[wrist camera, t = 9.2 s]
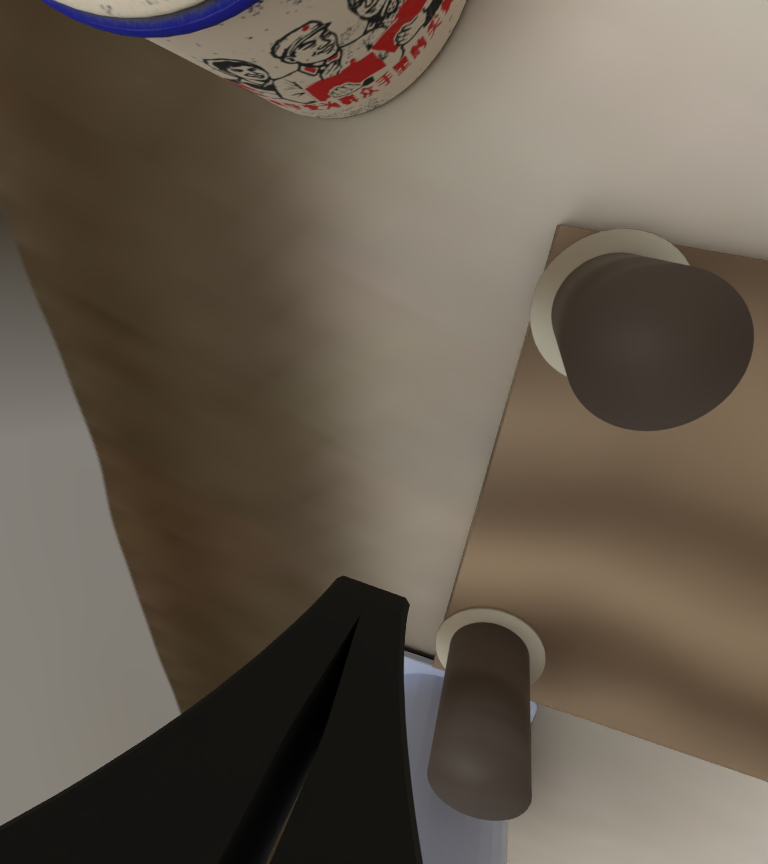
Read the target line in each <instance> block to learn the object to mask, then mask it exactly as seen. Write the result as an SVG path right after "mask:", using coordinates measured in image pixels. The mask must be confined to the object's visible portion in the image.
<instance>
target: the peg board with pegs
mask: <svg viewBox="0 0 768 864" xmlns="http://www.w3.org/2000/svg"><path fill="white" fill-rule="evenodd" d="M432 667H434V668H437V669H440V670H443V671H445V674H444V680H443V686H442V691H441V697H440V702H439V708H438V714H437V719H436V725H435V730H434V736H433V742H432V747H431V753H430V759H429V764H428V770H427V777H428V781H429V784H430V786H431V788H432V790H433V791H434V792H435V794H436V795H437V796H438V797H439V798H440V799H441V800H442V801H443V802H444V803H446V804H447V805H448V806H450V807H451V808H453V809H455V810H457V811H458V812H460V813H463V814H465V815H468V816H470V817H474V818H477V819H482V820H489V821H503V820H509V819H513V818H516V817H518V816H520V815H521V814H523V813H524V812H525V811H526V810H527V809H528V807H529V806H530V803H531V798H532V789H531V719H530V700H531V701H533V702H536V703H539V704H542V705H545V706H548V707H551V708H554V709H557V710H560V711H563V712H566V713H568V714H571V715H574V716H577V717H580V718H583V719H586V720H589V721H592V722H595V723H598V724H601V725H603V726H606V727H609V728H612V729H615V730H618V731H621V732H624V733H627V734H630V735H633V736H636V737H638V738H641V739H644V740H647V741H650V742H653V743H656V744H659V745H662V746H665V747H668V748H671V749H673V750H676V751H679V752H682V753H685V754H688V755H691V756H694V757H697V758H700V759H703V760H706V761H708V762H711V763H714V764H717V765H720V766H723V767H726V768H729V769H732V770H735V771H738V772H741V773H743V774H746V775H749V776H752V777H755V778H758V779H761V780H764V781H767V782H768V261H766V260H760V259H754V258H749V257H743V256H737V255H731V254H726V253H720V252H714V251H708V250H702V249H697V248H691V247H685V246H679V245H673V244H671V243H670V242H668V241H666V240H665V239H663V238H661V237H659V236H657V235H654V234H652V233H649V232H645V231H641V230H634V229H613V230H607V231H602V232H598V231H592V230H587V229H581V228H575V227H569V226H564V225H557V228H556V232H555V235H554V239H553V242H552V245H551V249H550V252H549V256H548V259H547V263H546V266H545V270H544V273H543V274H542V276H541V278H540V280H539V282H538V284H537V286H536V288H535V291H534V294H533V298H532V302H531V310H530V322H529V326H528V329H527V332H526V336H525V339H524V343H523V346H522V350H521V353H520V357H519V360H518V364H517V367H516V371H515V374H514V378H513V381H512V385H511V388H510V392H509V395H508V399H507V402H506V406H505V409H504V412H503V416H502V419H501V423H500V426H499V430H498V433H497V437H496V440H495V444H494V447H493V451H492V454H491V458H490V461H489V465H488V468H487V472H486V475H485V479H484V482H483V486H482V489H481V492H480V496H479V499H478V503H477V506H476V510H475V513H474V517H473V520H472V524H471V527H470V531H469V534H468V538H467V541H466V545H465V548H464V552H463V555H462V559H461V562H460V566H459V569H458V572H457V576H456V579H455V583H454V586H453V590H452V593H451V597H450V600H449V604H448V607H447V611H446V614H445V618H444V621H443V622H442V624H441V625H440V627H439V629H438V632H437V636H436V652H435V657H434V662H433V666H432Z"/></svg>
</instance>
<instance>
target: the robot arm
mask: <svg viewBox="0 0 768 864" xmlns="http://www.w3.org/2000/svg"><path fill="white" fill-rule="evenodd" d="M409 606H410V604H409V603H408V601H407V599H406V598H405V597H402V596H399V595H396V594H393V593H391V592H388V591H385V590H382V589H379V588H377V587H374V586H371V585H368V584H365V583H363V582H360V581H357V580H354V579H351V578H349V577H346V576H341V577H339V578H337V579H336V580H335V581H334V582H333V583H332V585H331V586H330V587H329V588H328V589H327V590H326V591H325V592H324V593H323V595H322V596H321V597H320V598H319V599H318V600H317V601H316V602H315V603H314V604H313V605H312V606H311V607H310V608H309V609H308V610H307V611H306V612H305V613H304V614H303V615H302V616H301V617H300V618H299V619H298V620H297V621H295V622H294V623H293V624H292V625H291V626H290V627H289V628H288V629H287V630H286V631H284V632H283V633H282V634H281V635H280V636H279V637H278V638H277V639H275V640H274V641H273V642H272V643H271V644H270V645H269V646H268V647H266V648H265V649H264V650H263V651H262V652H261V653H260V654H258V655H257V656H256V657H255V658H254V659H252V660H251V661H250V662H249V663H247V664H246V665H245V666H244V667H242V668H241V669H240V670H239V671H237V672H236V673H235V674H234V675H232V676H231V677H230V678H229V679H227V680H226V681H225V682H224V683H222V684H221V685H220V686H219V687H217V688H216V689H215V690H214V691H212V692H211V693H210V694H208V695H207V696H206V697H204V698H203V699H202V700H200V701H199V702H197V703H196V704H195V705H193V706H192V707H191V708H189V709H188V710H187V711H185V712H184V713H182V714H181V715H180V716H178V717H177V718H175V719H174V720H172V721H171V722H169V723H168V724H167V725H165V726H164V727H162V728H161V729H159V730H158V731H156V732H155V733H154V734H152V735H151V736H149V737H148V738H146V739H145V740H143V741H142V742H140V743H139V744H137V745H135V746H134V747H132V748H131V749H129V750H128V751H126V752H124V753H123V754H121V755H120V756H118V757H117V758H115V759H114V760H112V761H110V762H109V763H107V764H106V765H104V766H103V767H101V768H99V769H98V770H96V771H95V772H93V773H91V774H90V775H88V776H87V777H85V778H83V779H82V780H80V781H78V782H77V783H75V784H73V785H72V786H70V787H69V788H67V789H65V790H63V791H62V792H60V793H58V794H57V795H55V796H53V797H51V798H50V799H48V800H46V801H44V802H42V803H41V804H39V805H37V806H35V807H34V808H32V809H30V810H29V811H26V812H25V813H23V814H21V815H19V816H18V817H16V818H14V819H12V820H10V821H9V822H7V823H5V824H3V825H1V826H0V864H266V862H267V860H268V857H269V855H270V853H271V851H272V848H273V846H274V844H275V842H276V840H277V838H278V836H279V834H280V831H281V829H282V827H283V825H284V823H285V821H286V819H287V817H288V815H289V813H290V810H291V808H292V806H293V804H294V802H295V800H296V798H297V796H298V794H299V791H300V789H301V787H302V785H303V787H302V789H301V792H300V794H299V796H298V799H297V801H296V803H295V806H294V808H293V811H292V813H291V815H290V818H289V820H288V822H287V825H286V827H285V829H284V832H283V834H282V836H281V839H280V841H279V843H278V846H277V848H276V850H275V853H274V855H273V857H272V860H271V862H270V864H507V844H508V820H503V821H489V820H482V819H477V818H474V817H470V816H468V815H465V814H463V813H460V812H458V811H457V810H455V809H453V808H451V807H450V806H448V805H447V804H446V803H444V802H443V801H442V800H441V799H440V798H439V797H438V796H437V795H436V794H435V792H434V791H433V790H432V788H431V786H430V784H429V781H428V777H427V770H428V764H429V759H430V753H431V747H432V742H433V736H434V730H435V725H436V719H437V714H438V708H439V702H440V697H441V691H442V686H443V680H444V674H445V671H443V670H440V669H437V668H434V667H432V666H433V662H434V660H431V659H428V658H425V657H422V656H419V655H416V654H413V653H410V652H407V651H405V650H404V644H405V630H406V622H407V615H408V610H409ZM536 711H537V703H536V702H533V701H531V700H530V719H531V722H532V720H533V718H534V716H535V713H536ZM305 779H306V780H305ZM304 781H305V782H304ZM303 783H304V784H303Z"/></svg>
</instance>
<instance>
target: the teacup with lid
mask: <svg viewBox="0 0 768 864" xmlns="http://www.w3.org/2000/svg"><path fill="white" fill-rule="evenodd" d="M41 1H43V2H44V3H46V4H47V5H49V6H50V7H52V8H54V9H55V10H57V11H59V12H61V13H63V14H65V15H66V16H68V17H70V18H72V19H74V20H76V21H79V22H81V23H84V24H86V25H89V26H91V27H94V28H96V29H99V30H103V31H107V32H111V33H115V34H119V35H124V36H132V37H140V38H146V39H148V40H150V41H152V42H154V43H155V44H157V45H159V46H161V47H163V48H165V49H167V50H169V51H171V52H173V53H175V54H177V55H179V56H181V57H183V58H185V59H187V60H189V61H191V62H193V63H195V64H197V65H199V66H201V67H203V68H205V69H206V70H208V71H210V72H212V73H214V74H216V75H218V76H220V77H222V78H224V79H226V80H228V81H230V82H232V83H234V84H236V85H238V86H240V87H242V88H244V89H246V90H248V91H250V92H252V93H254V94H256V95H257V96H259V97H261V98H263V99H265V100H267V101H269V102H271V103H273V104H275V105H277V106H279V107H281V108H283V109H286V110H288V111H291V112H293V113H296V114H300V115H304V116H308V117H315V118H343V117H349V116H353V115H358V114H361V113H364V112H367V111H369V110H372V109H374V108H376V107H378V106H380V105H382V104H384V103H386V102H387V101H389V100H391V99H392V98H394V97H395V96H397V95H398V94H399V93H401V92H402V91H403V90H405V89H406V88H407V87H408V86H410V85H411V84H412V83H413V82H414V81H415V80H416V79H417V78H418V77H419V76H420V75H421V74H422V73H423V72H424V70H425V69H426V68H427V67H428V66H429V65H430V64H431V62H432V61H433V60H434V58H435V57H436V56H437V54H438V53H439V52H440V50H441V49H442V47H443V46H444V44H445V42H446V41H447V39H448V38H449V36H450V34H451V33H452V31H453V29H454V27H455V25H456V23H457V21H458V19H459V17H460V15H461V12H462V10H463V8H464V5H465V3H466V0H41Z"/></svg>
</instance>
